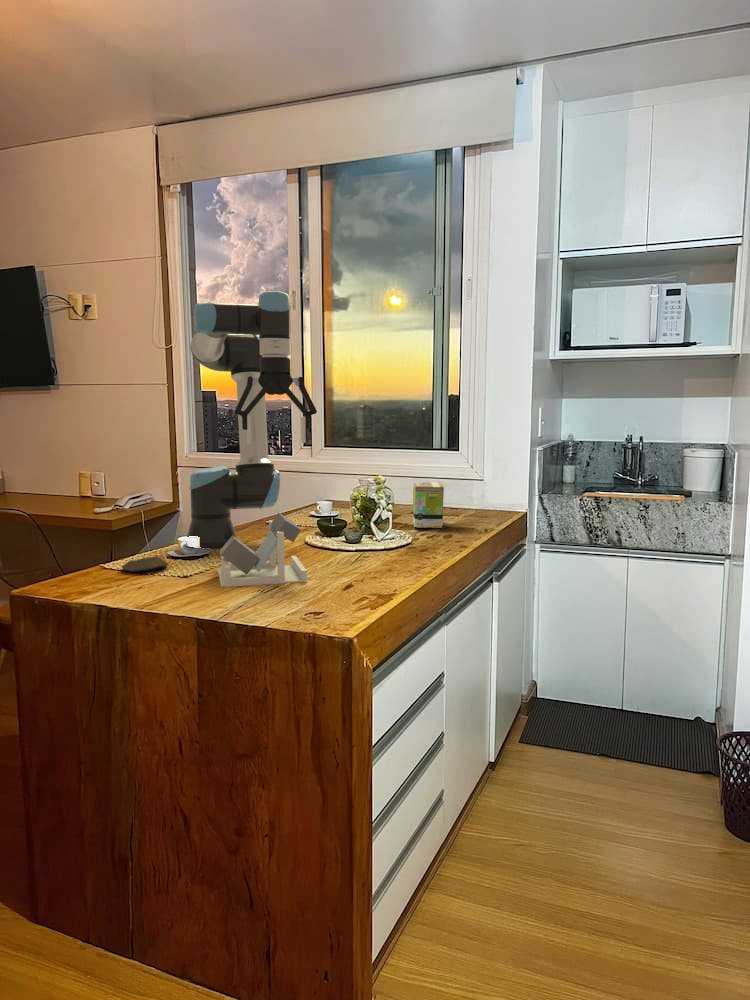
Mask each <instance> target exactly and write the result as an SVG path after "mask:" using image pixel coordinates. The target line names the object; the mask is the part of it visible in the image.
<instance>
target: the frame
mask: <svg viewBox="0 0 750 1000" xmlns="http://www.w3.org/2000/svg"><path fill="white" fill-rule="evenodd" d="M272 522H273V520H268V532H269V531H270V529H271V530H273V531H274V533H275V534H276V536H277V545H276V547H275V548H274V550H273V552H272V553H271V555H270V556H269V560H267V561H266V563H265V564H264V566H263V567H262V569H261V570H260V572H258V571H256V568H255V566H254V567H253V568H252V569H251V570H250V572H249V573H248V574H247V575H246V574H245V573H244V572H242V571H241V570H240V569H238V568H237V567H236V566H234V565H233V564H232V563H230V562H229V561H228V560H226V559H225V558H224V557H223V556H221V555H220V556H221V559H220V560H221V568H220V569H217V573H218V579H219V582H220V587H222V588H229V587H241V586H259V585H260V586H261V585H273V584H276V585H277V584H287V583H301V582H302V583H306V582H308V581H307V580H308V576H307V573H308V572H307V571H308V570H307V569H306V567H304V565H303V564H302V562H301V561H300V559H299V558H298V557H297V556H296V555H291V556H290V565H285V537H284V532H283V531H280V532H276V530H275V529H274V528H273V526H272V525H271V523H272Z"/></svg>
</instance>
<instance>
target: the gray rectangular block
mask: <svg viewBox="0 0 750 1000" xmlns="http://www.w3.org/2000/svg"><path fill="white" fill-rule="evenodd" d="M219 554H220V556H223V557H224V558H225V559H226V560H228V561H229V563H232V564H233V565H234V566H236V567H237V568H238V569H240V570H241V571H242V572H244V573H245V574H246V575H247V574H248V573H249V572H250V570H251V569H252V568H253V567H254V566H255V564H256V563H257V562H258V561H259V559H260V558H259V556H258V554H256V551H254V550H253V549H252V548H251V547H249V546H247V545H246V544H245V543H243V542H242V540H240V539H239V538H238V537H237V538H236V537H234V536H233V535H232V536H231V538H230V539H229V540H228V541H227V542H226V544H225V545H224V546H223V547H222V548H220V549H219Z"/></svg>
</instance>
